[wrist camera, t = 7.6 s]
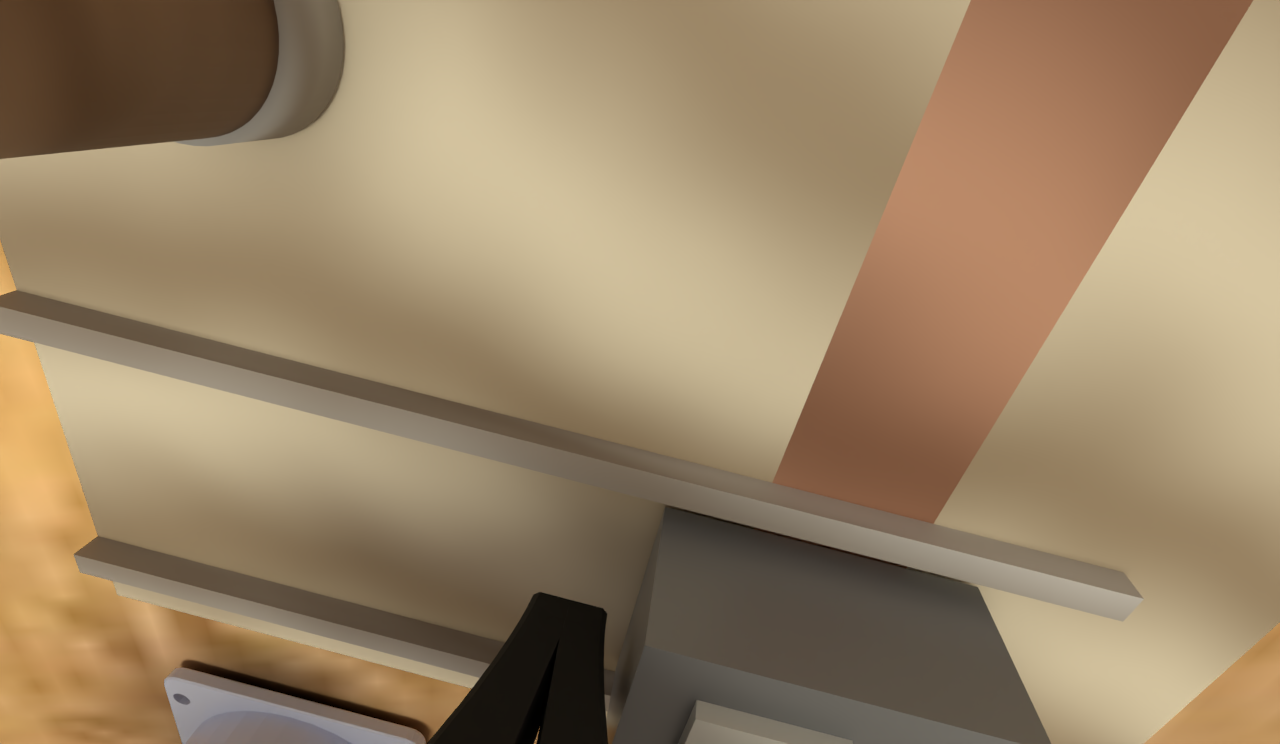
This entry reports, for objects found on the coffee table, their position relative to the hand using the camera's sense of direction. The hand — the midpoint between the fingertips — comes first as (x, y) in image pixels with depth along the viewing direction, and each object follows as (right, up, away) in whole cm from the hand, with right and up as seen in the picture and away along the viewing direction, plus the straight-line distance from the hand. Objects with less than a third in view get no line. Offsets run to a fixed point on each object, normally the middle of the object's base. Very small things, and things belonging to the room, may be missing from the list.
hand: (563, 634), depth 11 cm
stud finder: (+4, 0, +1) cm, 4 cm away
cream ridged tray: (+2, +4, 0) cm, 5 cm away
